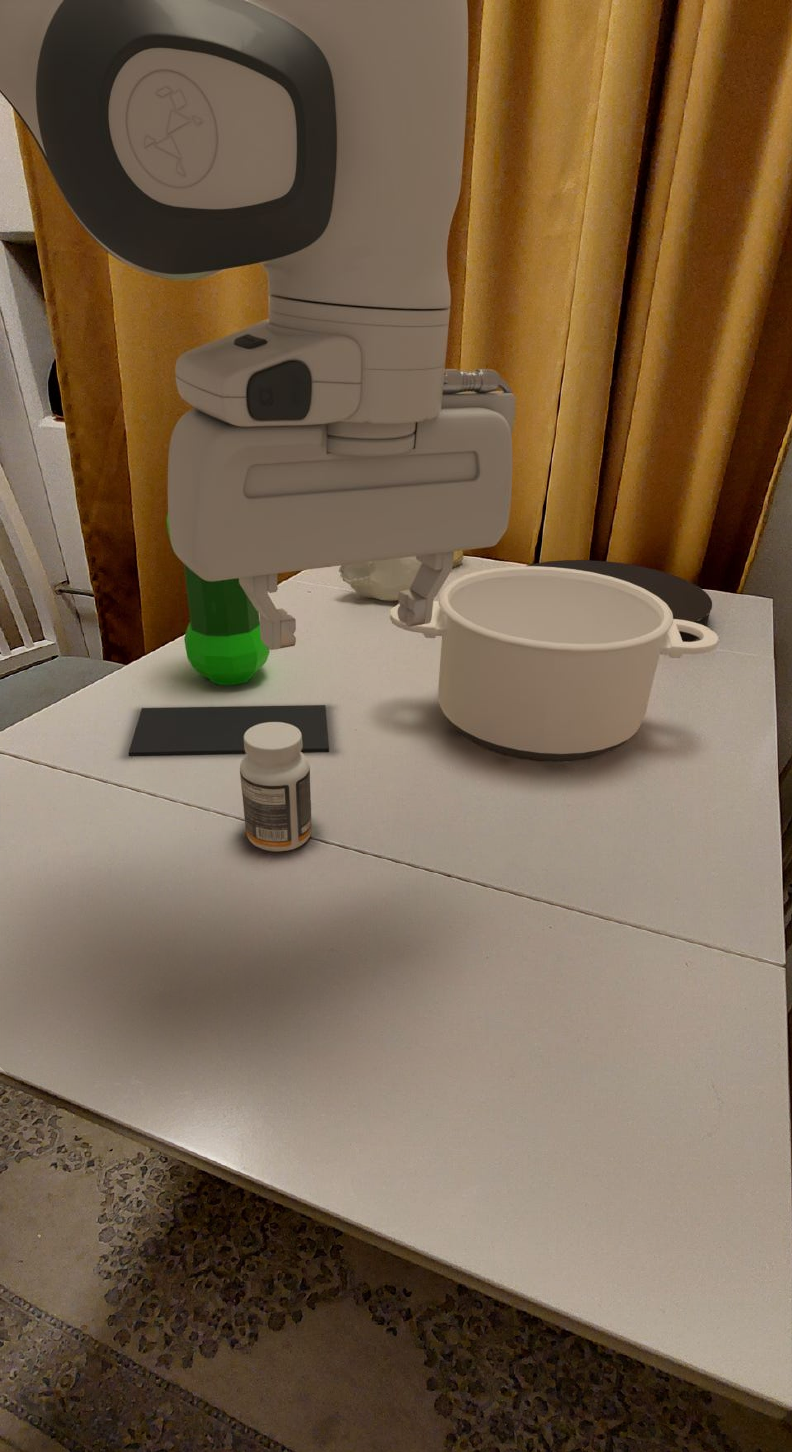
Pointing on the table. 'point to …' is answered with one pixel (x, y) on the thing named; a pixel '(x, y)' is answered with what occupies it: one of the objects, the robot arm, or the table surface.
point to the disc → (652, 587)
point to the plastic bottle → (222, 630)
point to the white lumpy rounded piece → (381, 577)
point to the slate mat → (221, 728)
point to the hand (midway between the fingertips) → (348, 633)
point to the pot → (551, 658)
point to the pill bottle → (275, 787)
